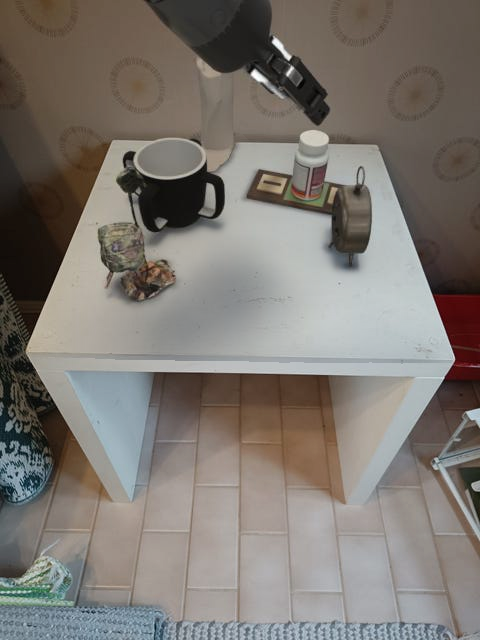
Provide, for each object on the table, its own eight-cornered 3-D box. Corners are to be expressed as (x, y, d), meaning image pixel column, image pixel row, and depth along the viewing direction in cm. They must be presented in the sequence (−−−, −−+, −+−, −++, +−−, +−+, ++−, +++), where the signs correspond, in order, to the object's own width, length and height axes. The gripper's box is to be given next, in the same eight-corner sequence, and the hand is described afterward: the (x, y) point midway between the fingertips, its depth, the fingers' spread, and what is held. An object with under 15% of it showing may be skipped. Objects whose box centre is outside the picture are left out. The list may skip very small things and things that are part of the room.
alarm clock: (361, 271, 73) (388, 190, 60) (329, 271, 73) (349, 190, 60) (351, 228, 79) (374, 146, 66) (322, 227, 79) (339, 146, 66)
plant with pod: (104, 272, 72) (67, 166, 56) (171, 259, 74) (154, 153, 58) (109, 309, 67) (70, 205, 51) (181, 294, 69) (164, 189, 53)
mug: (229, 235, 78) (228, 178, 68) (140, 250, 75) (126, 193, 66) (210, 182, 87) (207, 125, 77) (130, 194, 85) (117, 136, 75)
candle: (189, 169, 90) (179, 67, 74) (206, 135, 98) (201, 35, 82) (222, 174, 89) (219, 71, 73) (237, 139, 97) (237, 39, 81)
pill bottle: (322, 184, 86) (332, 129, 77) (321, 203, 82) (332, 148, 73) (291, 181, 86) (298, 126, 77) (289, 200, 82) (295, 145, 73)
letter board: (364, 192, 86) (366, 186, 85) (358, 220, 80) (360, 215, 79) (258, 172, 89) (258, 166, 88) (246, 198, 84) (246, 192, 83)
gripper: (286, -21, 32) (364, 97, 45) (191, -65, 39) (282, 48, 52) (226, 73, 34) (316, 159, 47) (147, 15, 41) (245, 104, 54)
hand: (298, 101), depth 49 cm, fingers open, 8 cm apart
